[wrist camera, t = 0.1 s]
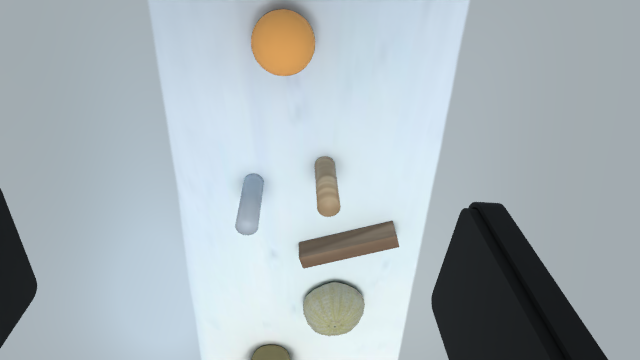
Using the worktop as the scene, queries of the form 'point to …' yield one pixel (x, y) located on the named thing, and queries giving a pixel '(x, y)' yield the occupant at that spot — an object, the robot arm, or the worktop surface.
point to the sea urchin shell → (333, 309)
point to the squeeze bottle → (271, 353)
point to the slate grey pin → (250, 205)
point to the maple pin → (326, 187)
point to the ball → (283, 42)
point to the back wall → (348, 244)
